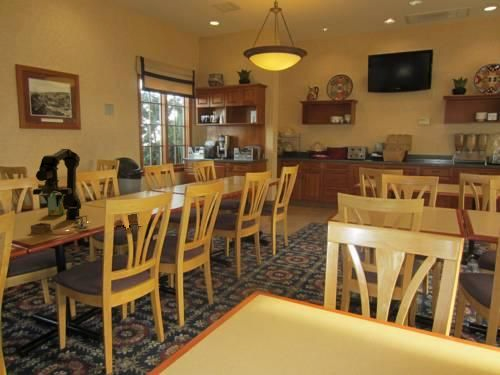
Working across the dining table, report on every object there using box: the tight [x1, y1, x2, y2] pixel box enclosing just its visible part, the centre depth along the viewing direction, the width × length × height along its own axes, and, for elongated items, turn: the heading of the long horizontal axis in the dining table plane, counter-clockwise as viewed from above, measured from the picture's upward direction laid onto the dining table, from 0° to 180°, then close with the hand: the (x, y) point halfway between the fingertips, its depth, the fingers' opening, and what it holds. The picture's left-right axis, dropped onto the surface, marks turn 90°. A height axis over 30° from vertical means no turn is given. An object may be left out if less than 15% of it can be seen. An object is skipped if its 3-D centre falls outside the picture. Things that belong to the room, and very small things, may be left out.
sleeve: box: [30, 222, 52, 235], centre depth 200 cm, size 7×7×4 cm
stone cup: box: [114, 214, 139, 227], centre depth 215 cm, size 15×12×15 cm
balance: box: [71, 215, 92, 230], centre depth 209 cm, size 15×5×8 cm, turn 55°
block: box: [47, 195, 59, 210], centre depth 206 cm, size 4×4×7 cm
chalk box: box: [47, 193, 67, 217], centre depth 241 cm, size 9×9×15 cm
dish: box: [51, 227, 76, 236], centre depth 200 cm, size 11×11×1 cm
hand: (53, 206), depth 207 cm, fingers closed on block, 4 cm apart
